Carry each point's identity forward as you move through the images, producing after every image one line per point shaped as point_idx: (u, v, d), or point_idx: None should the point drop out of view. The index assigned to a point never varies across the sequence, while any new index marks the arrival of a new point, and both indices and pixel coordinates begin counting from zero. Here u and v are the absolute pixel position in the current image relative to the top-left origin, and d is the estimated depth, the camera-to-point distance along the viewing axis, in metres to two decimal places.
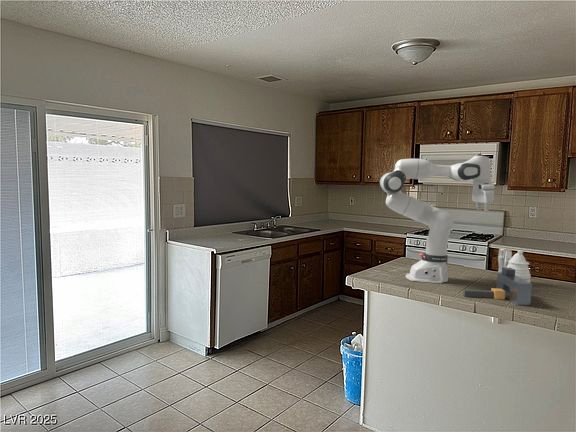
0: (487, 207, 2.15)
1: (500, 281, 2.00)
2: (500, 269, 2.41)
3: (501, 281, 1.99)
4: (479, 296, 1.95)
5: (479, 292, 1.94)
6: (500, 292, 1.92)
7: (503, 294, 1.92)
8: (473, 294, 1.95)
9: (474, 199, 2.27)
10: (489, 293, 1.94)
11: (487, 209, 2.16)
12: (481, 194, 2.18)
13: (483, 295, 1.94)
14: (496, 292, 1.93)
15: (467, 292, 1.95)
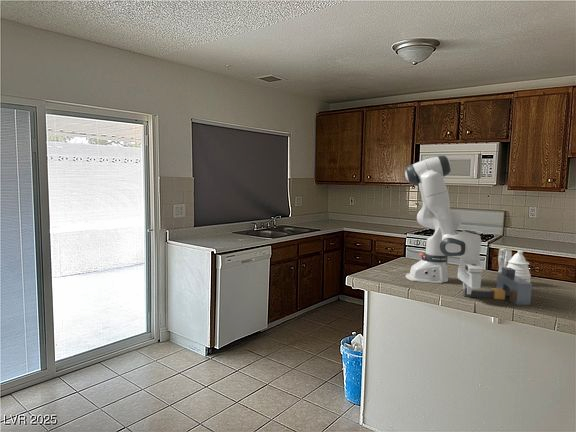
0: (470, 289, 1.93)
1: (500, 281, 2.00)
2: (500, 269, 2.41)
3: (501, 281, 1.99)
4: (479, 296, 1.95)
5: (479, 292, 1.94)
6: (500, 292, 1.92)
7: (503, 294, 1.92)
8: (473, 294, 1.95)
9: (459, 277, 2.02)
10: (489, 293, 1.94)
11: (470, 291, 1.93)
12: (467, 275, 1.92)
13: (483, 295, 1.94)
14: (496, 292, 1.93)
15: None
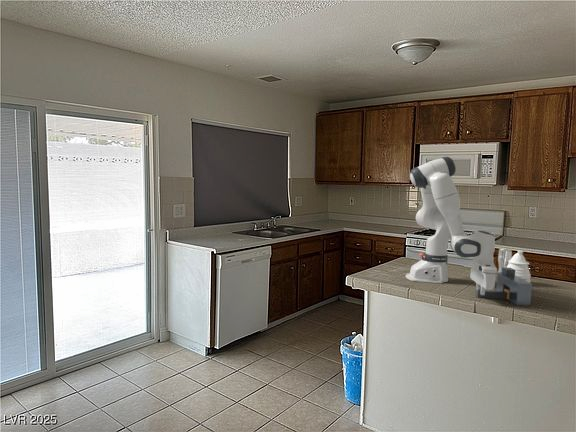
0: (483, 290, 1.92)
1: (500, 281, 2.00)
2: (500, 269, 2.41)
3: (501, 281, 1.99)
4: (492, 297, 1.94)
5: (492, 293, 1.94)
6: None
7: None
8: (486, 295, 1.94)
9: (472, 277, 2.01)
10: (502, 294, 1.93)
11: (483, 292, 1.93)
12: (481, 276, 1.92)
13: (496, 296, 1.94)
14: (509, 293, 1.92)
15: None
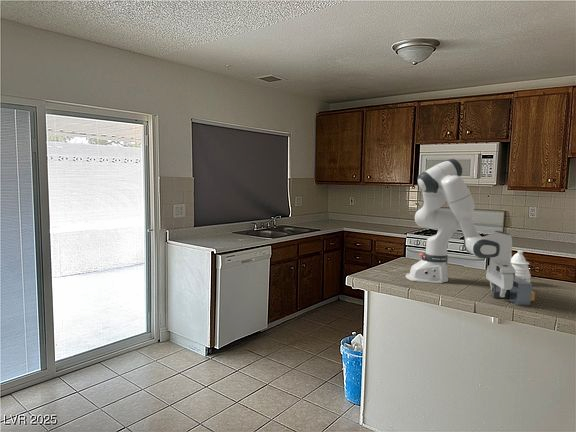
0: (503, 292, 1.89)
1: None
2: None
3: None
4: (508, 297, 1.94)
5: (508, 293, 1.93)
6: None
7: (533, 295, 1.91)
8: None
9: (488, 278, 2.01)
10: None
11: (503, 294, 1.89)
12: (498, 276, 1.91)
13: None
14: None
15: (496, 293, 1.94)
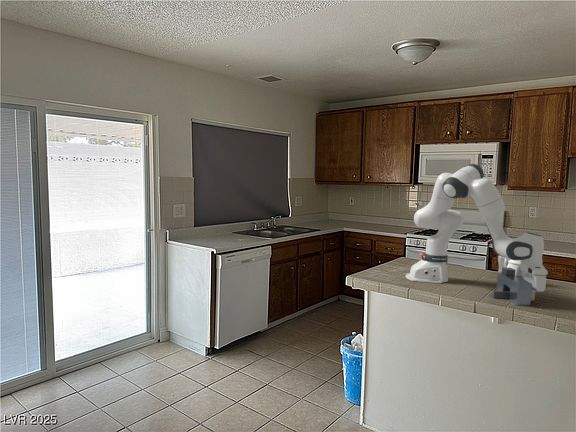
0: (533, 293, 1.89)
1: (500, 281, 2.00)
2: (500, 269, 2.41)
3: (501, 281, 1.99)
4: (508, 297, 1.94)
5: (508, 293, 1.93)
6: None
7: None
8: (503, 295, 1.94)
9: None
10: None
11: (533, 295, 1.90)
12: (529, 278, 1.90)
13: None
14: None
15: (496, 293, 1.94)
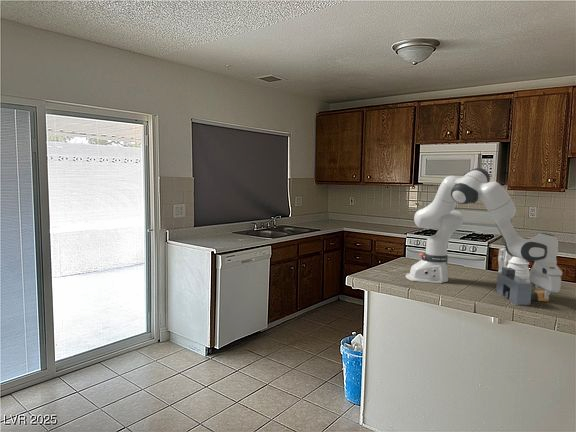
0: (548, 293, 1.89)
1: (500, 281, 2.00)
2: (500, 269, 2.41)
3: (501, 281, 1.99)
4: None
5: None
6: None
7: None
8: None
9: (532, 280, 1.99)
10: (532, 295, 1.92)
11: (547, 296, 1.89)
12: (544, 278, 1.89)
13: None
14: (540, 294, 1.91)
15: None
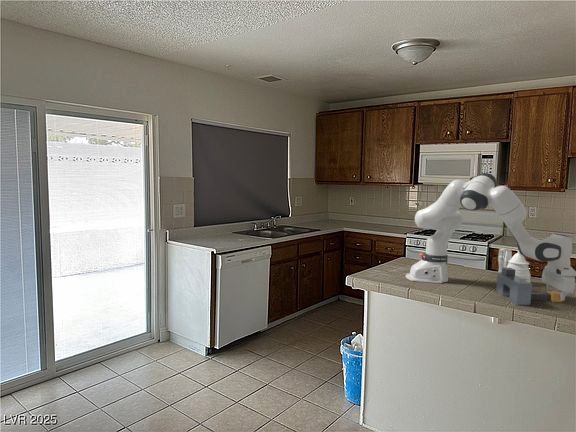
0: (564, 295, 1.87)
1: (500, 281, 2.00)
2: (500, 269, 2.41)
3: (501, 281, 1.99)
4: (536, 299, 1.93)
5: (536, 295, 1.93)
6: (557, 295, 1.91)
7: None
8: None
9: (545, 281, 1.99)
10: (546, 296, 1.92)
11: (563, 297, 1.87)
12: (557, 279, 1.89)
13: (539, 298, 1.93)
14: (553, 295, 1.91)
15: None
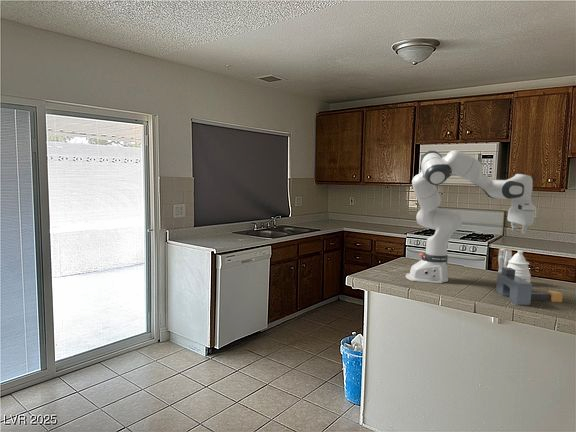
0: (525, 229, 2.06)
1: (500, 281, 2.00)
2: (500, 269, 2.41)
3: (501, 281, 1.99)
4: (536, 299, 1.93)
5: (536, 295, 1.93)
6: (557, 295, 1.91)
7: (560, 297, 1.91)
8: None
9: (510, 219, 2.18)
10: (546, 296, 1.92)
11: (524, 231, 2.06)
12: (519, 215, 2.08)
13: (539, 298, 1.93)
14: (553, 295, 1.91)
15: None
